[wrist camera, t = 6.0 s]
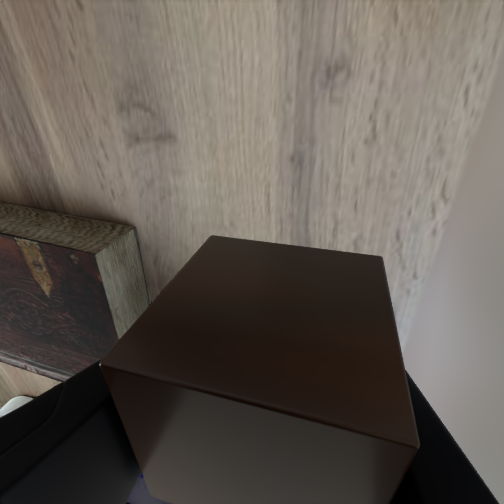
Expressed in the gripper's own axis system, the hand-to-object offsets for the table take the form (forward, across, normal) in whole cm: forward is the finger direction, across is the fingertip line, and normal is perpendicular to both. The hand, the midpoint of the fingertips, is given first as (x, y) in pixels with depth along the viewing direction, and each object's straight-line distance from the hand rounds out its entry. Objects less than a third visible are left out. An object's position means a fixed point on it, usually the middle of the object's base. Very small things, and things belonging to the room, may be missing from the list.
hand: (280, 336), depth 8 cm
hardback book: (+13, +29, +13) cm, 35 cm away
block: (+1, 0, 0) cm, 1 cm away
